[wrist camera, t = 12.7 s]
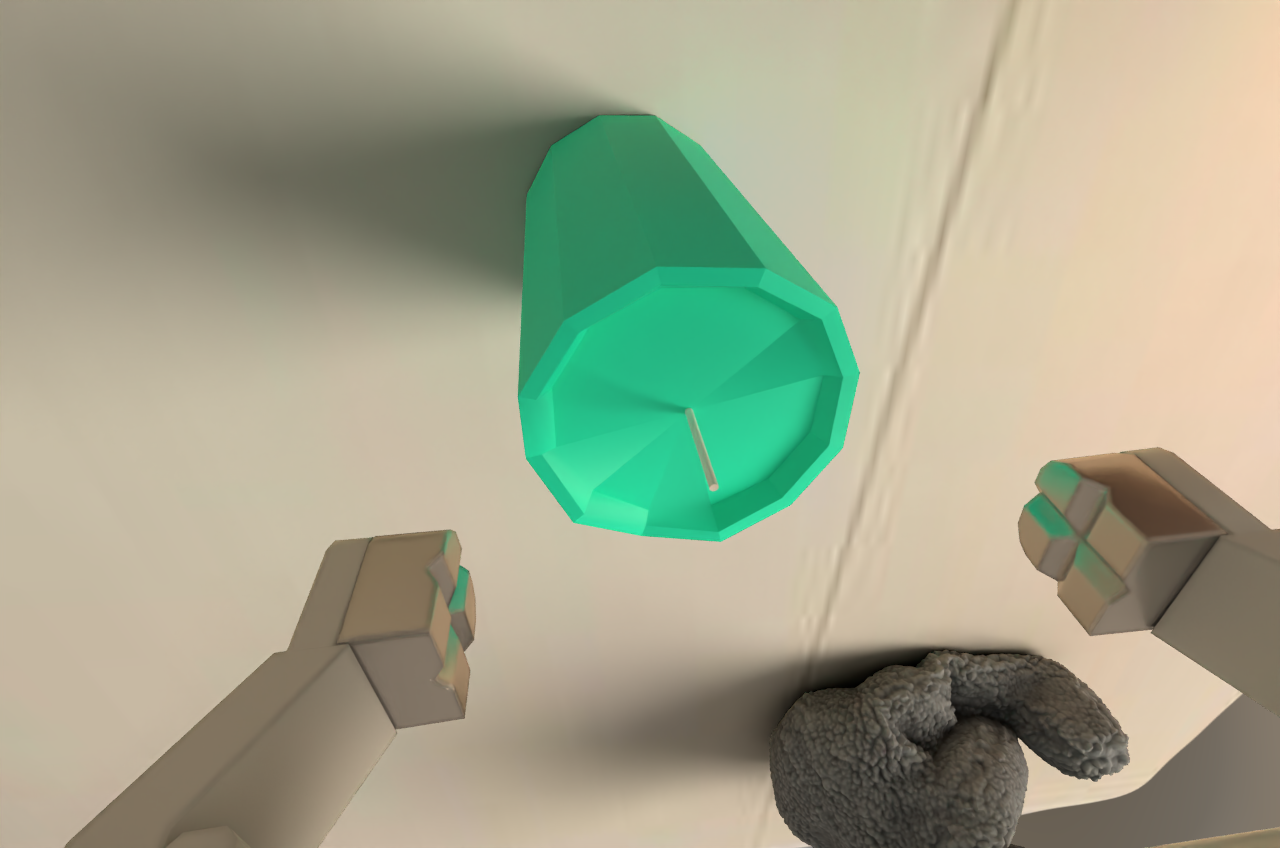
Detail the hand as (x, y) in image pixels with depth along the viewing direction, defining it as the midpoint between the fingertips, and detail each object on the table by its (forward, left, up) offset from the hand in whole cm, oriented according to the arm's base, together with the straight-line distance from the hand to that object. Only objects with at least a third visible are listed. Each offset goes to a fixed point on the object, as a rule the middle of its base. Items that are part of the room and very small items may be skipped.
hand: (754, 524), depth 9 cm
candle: (0, 0, -13) cm, 13 cm away
